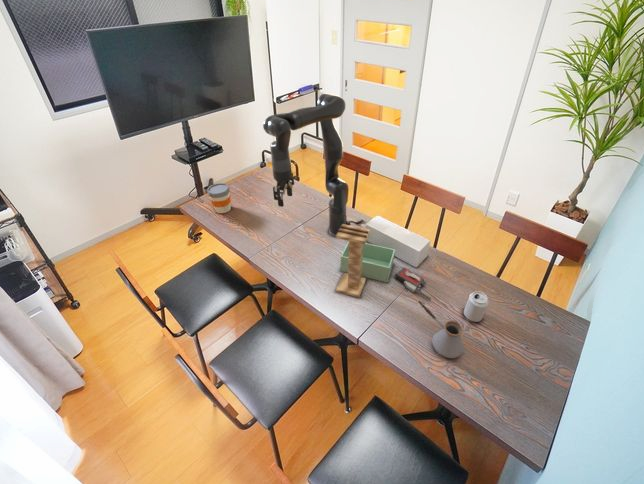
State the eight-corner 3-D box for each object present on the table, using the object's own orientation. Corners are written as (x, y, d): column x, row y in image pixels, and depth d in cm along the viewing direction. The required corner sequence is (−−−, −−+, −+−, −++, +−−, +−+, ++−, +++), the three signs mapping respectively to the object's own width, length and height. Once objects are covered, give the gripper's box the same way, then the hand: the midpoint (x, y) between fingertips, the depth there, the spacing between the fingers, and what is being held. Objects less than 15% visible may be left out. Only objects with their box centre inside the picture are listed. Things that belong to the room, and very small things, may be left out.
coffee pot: (467, 347, 127) (477, 324, 118) (452, 368, 120) (461, 344, 111) (420, 315, 139) (425, 291, 130) (404, 332, 132) (409, 308, 123)
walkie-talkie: (391, 279, 155) (429, 302, 144) (392, 273, 152) (430, 296, 141) (401, 269, 160) (438, 291, 149) (402, 263, 157) (440, 284, 147)
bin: (340, 270, 160) (340, 256, 154) (348, 253, 170) (349, 239, 164) (387, 282, 154) (389, 268, 148) (393, 263, 164) (395, 249, 158)
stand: (335, 291, 149) (334, 235, 130) (342, 274, 158) (343, 220, 138) (360, 297, 146) (364, 242, 127) (366, 280, 155) (371, 225, 135)
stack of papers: (426, 256, 168) (430, 240, 161) (416, 267, 161) (419, 251, 155) (376, 230, 185) (377, 215, 178) (364, 239, 178) (365, 224, 172)
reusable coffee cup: (212, 205, 206) (206, 184, 197) (233, 202, 209) (228, 181, 200) (212, 216, 196) (206, 195, 187) (234, 212, 199) (229, 191, 190)
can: (467, 305, 143) (474, 286, 136) (484, 314, 139) (492, 295, 132) (460, 316, 138) (467, 297, 131) (478, 326, 134) (486, 307, 127)
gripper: (282, 176, 125) (286, 211, 134) (297, 160, 135) (300, 193, 145) (264, 173, 127) (269, 208, 136) (281, 158, 137) (285, 191, 147)
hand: (285, 200), depth 141 cm, fingers open, 8 cm apart
